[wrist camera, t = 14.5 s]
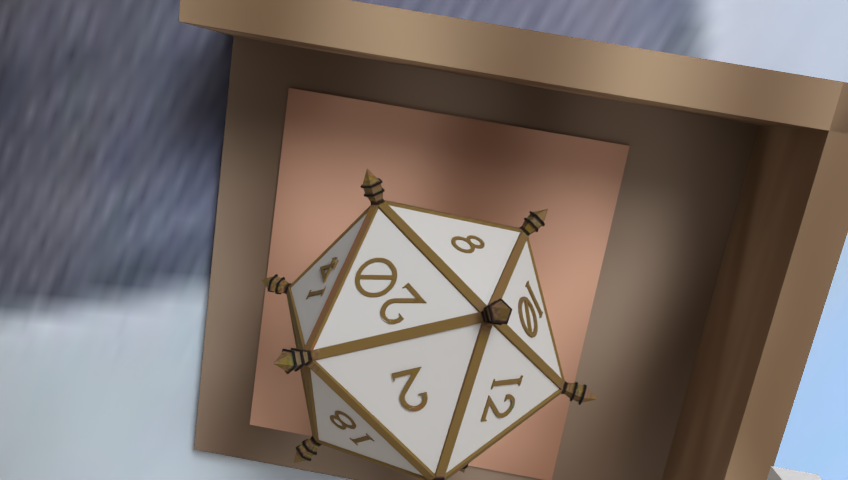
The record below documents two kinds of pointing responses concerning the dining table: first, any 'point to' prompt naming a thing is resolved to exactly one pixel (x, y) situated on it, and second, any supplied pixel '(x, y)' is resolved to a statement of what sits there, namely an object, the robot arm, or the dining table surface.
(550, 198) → the brown wooden tray
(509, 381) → the game die
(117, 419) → the dining table surface
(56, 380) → the dining table surface
